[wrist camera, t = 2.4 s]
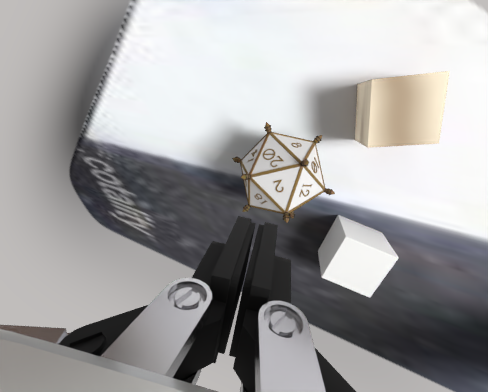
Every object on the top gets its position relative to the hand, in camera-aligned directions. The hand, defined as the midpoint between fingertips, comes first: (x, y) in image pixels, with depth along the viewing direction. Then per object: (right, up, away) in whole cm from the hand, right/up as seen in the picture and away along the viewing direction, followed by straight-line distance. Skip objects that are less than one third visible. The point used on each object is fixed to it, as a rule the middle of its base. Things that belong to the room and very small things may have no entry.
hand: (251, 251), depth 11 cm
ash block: (+13, +10, +13) cm, 21 cm away
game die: (+4, +6, +17) cm, 18 cm away
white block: (+11, -3, +18) cm, 21 cm away
